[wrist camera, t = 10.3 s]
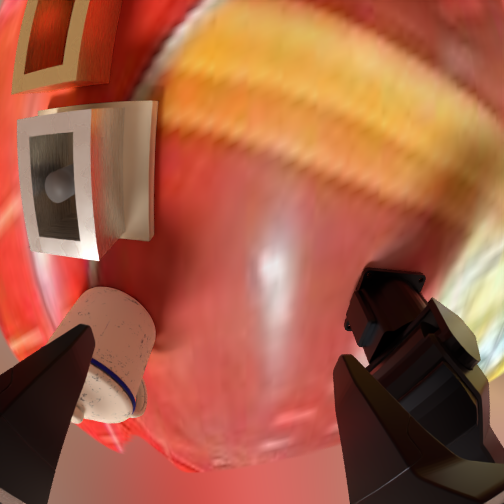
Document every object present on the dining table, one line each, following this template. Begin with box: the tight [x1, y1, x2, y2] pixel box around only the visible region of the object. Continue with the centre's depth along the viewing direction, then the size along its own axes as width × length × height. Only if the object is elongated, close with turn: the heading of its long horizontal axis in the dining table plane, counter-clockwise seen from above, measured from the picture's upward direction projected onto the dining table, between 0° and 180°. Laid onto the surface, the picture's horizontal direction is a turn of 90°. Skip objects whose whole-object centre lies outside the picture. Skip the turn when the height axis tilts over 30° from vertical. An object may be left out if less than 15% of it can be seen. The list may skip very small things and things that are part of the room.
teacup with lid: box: [40, 287, 156, 424], centre depth 21 cm, size 12×9×12 cm
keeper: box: [38, 101, 158, 241], centre depth 17 cm, size 10×10×5 cm
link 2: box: [17, 107, 125, 261], centre depth 16 cm, size 9×6×4 cm, turn 174°
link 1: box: [11, 0, 123, 95], centre depth 12 cm, size 9×6×4 cm, turn 173°
